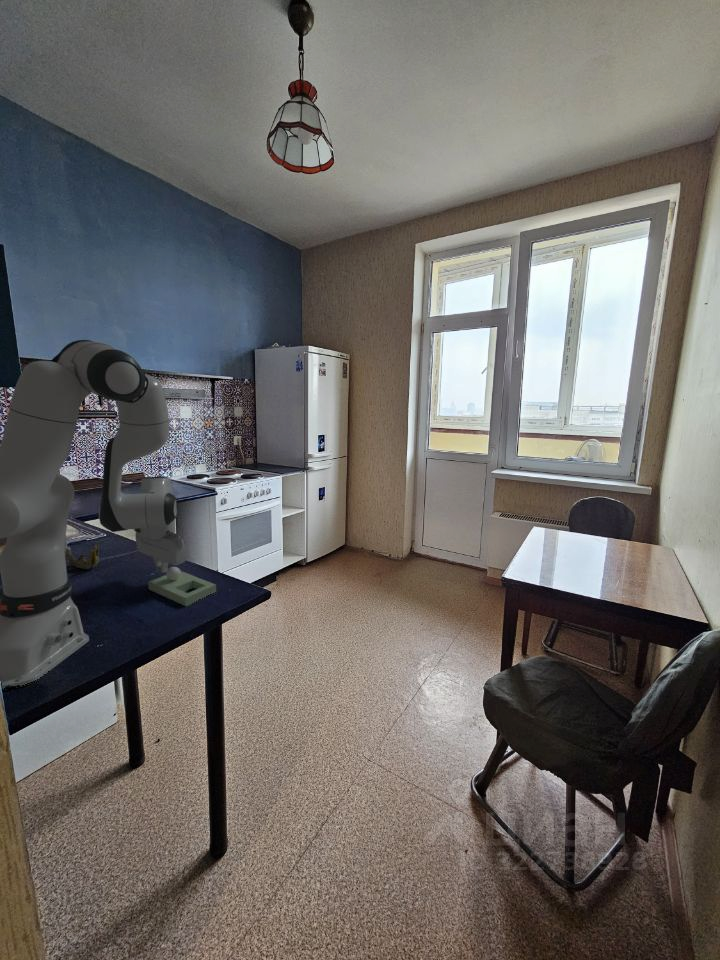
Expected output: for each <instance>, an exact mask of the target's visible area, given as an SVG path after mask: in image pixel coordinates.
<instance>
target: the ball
mask: <svg viewBox="0 0 720 960" xmlns="http://www.w3.org/2000/svg"><path fill="white" fill-rule="evenodd" d="M181 571H182V570H181V569H180V568H179V567H177V566H171V567H169V568H168V570H167V572H165V575H166V577H167V578H168V579H169V580H176V579H178V578H179V577H180V574H181Z"/></svg>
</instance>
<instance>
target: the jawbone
mask: <svg viewBox="0 0 720 960" xmlns="http://www.w3.org/2000/svg"><path fill="white" fill-rule="evenodd" d="M92 546H93V547H94V549H92V550H91V549H90V550H89V551H88V553H89V554H88V555H89V557H88V560H87V559H86V556H85V554H84V553H81V554H80V556H79V557H78V560H77V558H75V557H74V555H73V554H72V552H71V553H70V551H69V549H67V548H66V555H65V556H66V558H67V560H66V563H67V564H70V565H72V566H74V567H76V568H79V569H81V570H91V569H94V568H95V567H96V566H97V565H98V564H99V563H100V559H99V558H100V555H99V554H100V546H99V542H97V544H96V543H92ZM69 553H70V554H69Z"/></svg>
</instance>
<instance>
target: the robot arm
mask: <svg viewBox="0 0 720 960" xmlns="http://www.w3.org/2000/svg"><path fill="white" fill-rule="evenodd" d="M91 394H93V395H97V396H100V397H103V398H105V399H107V400H110V401H114V402H115V404H116V407H117V416H118V422H119V423H118V424H119V425H118V430H117V432H116V435H115V436H113V437H111V438H109V439H108V442H107V443H106V448H105V450H104V458H103V459H104V461H103V471H102V485H101V486H102V488H101V500H100V505H99V508H98V509H99V510H98V519H99V523H100V525H101V526H102V527H104V528H105V529H106V530H108V531H110V532H113V533H117V532H123V531H128V530H133V531H134V532H135V535H134V536H135V543H136V549H137V551H138V552H139V553H142V554H144V555H146V556H149V557H152V558H153V562H154V563H155V565H156V570H157V571H158V572H160V573H163V574H165V573H166V572H167V570H168V569H169V568H168V567H169V564H170V565H173V566H178V565H181V564H183V563H185V562H186V560H187V553H186V552H187V551H186V547H185V541H184V540H183V538H181V536H180V534H179V533H177V530H176V518H178V515H179V511H178V498H177V497H176V496H175V495H174V490H173V486H172V482H171V478H170V477H167V476H164V475H163V476H147V477H143V478H142V479H141V482H140V493H128V494H127V493H123V492H122V489H121V488H122V478H123V469H124V467H125V465H126V464H128V463H130V462H132V461H134V460H138V459H140V458H143V457H145V456H148V455H151V454H153V453H155V452H158V451H159V450H160V449H161V448H162V447H164V446H165V445H166V443H167V441H168V440H169V437H170V420H169V419H170V418H169V410H168V404H167V400H166V396H165V392H164V389H163V385H162V383H161V382H160V381H159V379H157V378H156V377H154V376H152V375H149V374H147V373H144V371H143V369H142V367H141V366H140V364H139V363H138V362H137V361H136V360H135V358H134V357H132V355H129V354H128V353H126V352H125V351H123V350H119V349H117V348H115V347H114V346H111V345H109V344H106V343H102V342H97V341H93V340H89V339H79V340H77V339H76V340H73V341H71V342H68V343H67V344H66V345H65V346H64V347H63V348H62V349H61V350H60V352H58V353H57V354H56V355H55V356H54V357H53V358H51V360H35V361H31V362H28V364H26V365H25V366H24V368H23V370H22V372H21V374H20V375H19V377H18V380H17V381H16V385H15V387H14V390H13V393H12V397H11V400H10V405H9V408H8V413H7V418H6V422H5V428H4V430H3V435H2V439H1V443H0V539H4V538H6V541H5V544H4V547H3V549H2V550H1V552H0V576H1V577H0V578H1V584H2V590H3V591H2V593H1V594H0V679H1V681H2V688H3V690H4V688H5V687H6V686H8V685H9V686H17V685H20V687H23V686H22V685H24V686H26V685H25V684H27V683H30V682H33V681H35V680H36V681H38V680H39V679H41V678H42V677H43V676H45V675H46V674H47V673H49V672H50V671H52V670H53V669H54V668H56V667H57V666H58V665H59V664H61V663H62V662H63V661H65V660H66V659H67V658H68V657H69V656H72V654H74V653H75V652H76V651H78V650H79V649H80V648H81V647H83V646H84V645H86V644H87V643H89V641H90V638H89V635H88V634H87V633H85V632H84V628H83V624H82V620H81V615H80V612H79V609H78V606H77V605H76V604H75V603H74V601H73V599H72V597H71V596H72V594H73V592H72V587H73V586H72V583H71V579H70V578H69V577H68V572H67V571H68V569H67V560H66V555H65V536H66V537H67V528H68V519H69V515H70V513H69V512H70V509H71V506H72V502H73V501H74V499H75V494H76V493H75V486H74V485H73V482H71V480H70V479H69V478H68V477H66V476H65V475H63V474H61V473H60V472H59V471H60V469H61V467H63V465H64V463H65V462H66V461H67V460H68V458H69V457H70V453H71V448H72V444H73V440H74V436H75V433H76V426H77V422H78V419H79V413H80V407H81V406H82V403H83V402H84V400H85V399H86V398H87V397H88V396H90V395H91ZM58 472H59V474H58ZM48 671H49V672H48ZM44 674H45V675H44ZM40 677H41V678H40ZM37 679H38V680H37ZM36 681H35V682H36ZM33 683H34V682H33ZM30 684H31V683H30ZM27 685H28V684H27Z"/></svg>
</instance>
